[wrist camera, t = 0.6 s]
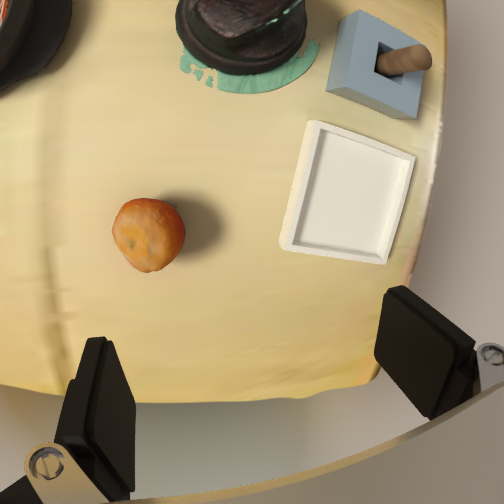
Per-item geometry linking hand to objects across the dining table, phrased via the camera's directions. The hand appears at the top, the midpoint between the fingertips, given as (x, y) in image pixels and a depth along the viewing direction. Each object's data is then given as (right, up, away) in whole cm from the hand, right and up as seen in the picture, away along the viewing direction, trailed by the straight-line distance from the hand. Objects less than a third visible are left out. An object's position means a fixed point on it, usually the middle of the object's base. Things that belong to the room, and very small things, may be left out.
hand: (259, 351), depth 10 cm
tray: (+12, +11, +31) cm, 35 cm away
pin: (+15, +27, +25) cm, 40 cm away
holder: (+15, +28, +26) cm, 41 cm away
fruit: (-12, +6, +27) cm, 30 cm away
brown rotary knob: (-1, +31, +21) cm, 37 cm away
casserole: (-33, +30, +13) cm, 47 cm away
